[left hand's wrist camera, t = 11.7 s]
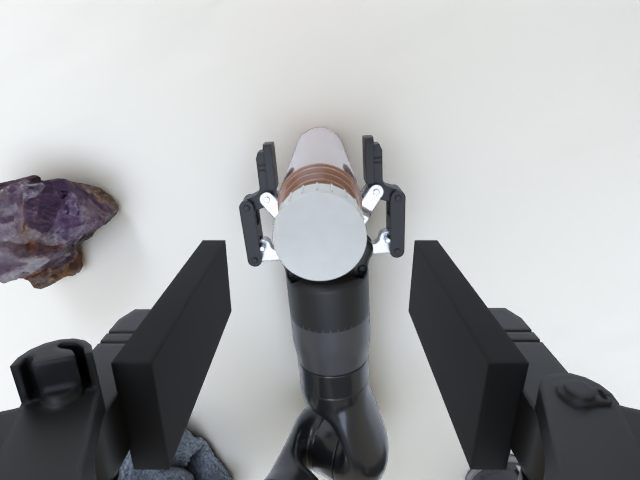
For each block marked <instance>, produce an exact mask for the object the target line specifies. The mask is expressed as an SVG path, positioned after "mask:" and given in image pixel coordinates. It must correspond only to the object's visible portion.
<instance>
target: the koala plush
mask: <svg viewBox="0 0 640 480" xmlns="http://www.w3.org/2000/svg"><path fill="white" fill-rule="evenodd" d="M120 471H121V476H122V480H232V478H231V476H230V474H228V471H227V470H226V469H225V468H224V467H223V465H222V463H221V462H219V459H217V458H216V457H215V456H214V453H213V452H212V449H211V448H210V447H209V444H208V443H207V441H205V440H204V439H203V438H202V437H199V438H198V437H196V438H195V437H194V436H193V435H192V433H191V432H190V431H189V430H187V429H185V431H184V433H183V436H182V439H181V441H180V444H179V446H178V449H177V451H176V454H175V456H174V459H173V462H172V464H171V467H170V469H169V470H134V468H133V464H132V459H131V455H130V450H129V452H128V454H127V456H126V457H125V459H124V461H123V463H122V465H121V467H120Z"/></svg>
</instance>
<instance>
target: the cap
mask: <svg viewBox="0 0 640 480" xmlns="http://www.w3.org/2000/svg"><path fill="white" fill-rule="evenodd" d="M364 220H365V218H364V215H363V212H362V210H360V208H359V206H358V204H357V202H356V199H355V198H354V199H353V197H352V196H350V195H349V194H348V193H347V192H346V190H345V189H344V190H342V189H341V188H339V187H336V186H334V185H332V184H323V183H318V182H316V184H310V185H306V186H304V185H302V187H301V188H299V189H297V190H295V191H294V192H293V193H292V192H291V193H290V195H289V196H288V197H287V198H286V199H285V201H284V202H283V203H281V205H280V208H279V211H278V215H276V217H275V220H274V223H273V225H274V228H273V237H272V239H273V245H274V249H275V252H276V254H277V256H278V258H279V260H280V261H281V263H282V264H283V265H284V266H285V267H286V268H287V269H288V270H289V271H291V272H292V273H294V274H295V275H297V276H299V277H302V278H304V279H308V280H313V281H326V280H332V279H335V278H338V277H341V276H342V275H344V274H346V273H347V272H349V271H350V270H351V269H353V268H354V267H355V266H356V264H357V263H358V262H359V261H360V259H361V257H362V255H363V253H364V251H365V248H366V243H367V229H366V226H365V222H364Z"/></svg>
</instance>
